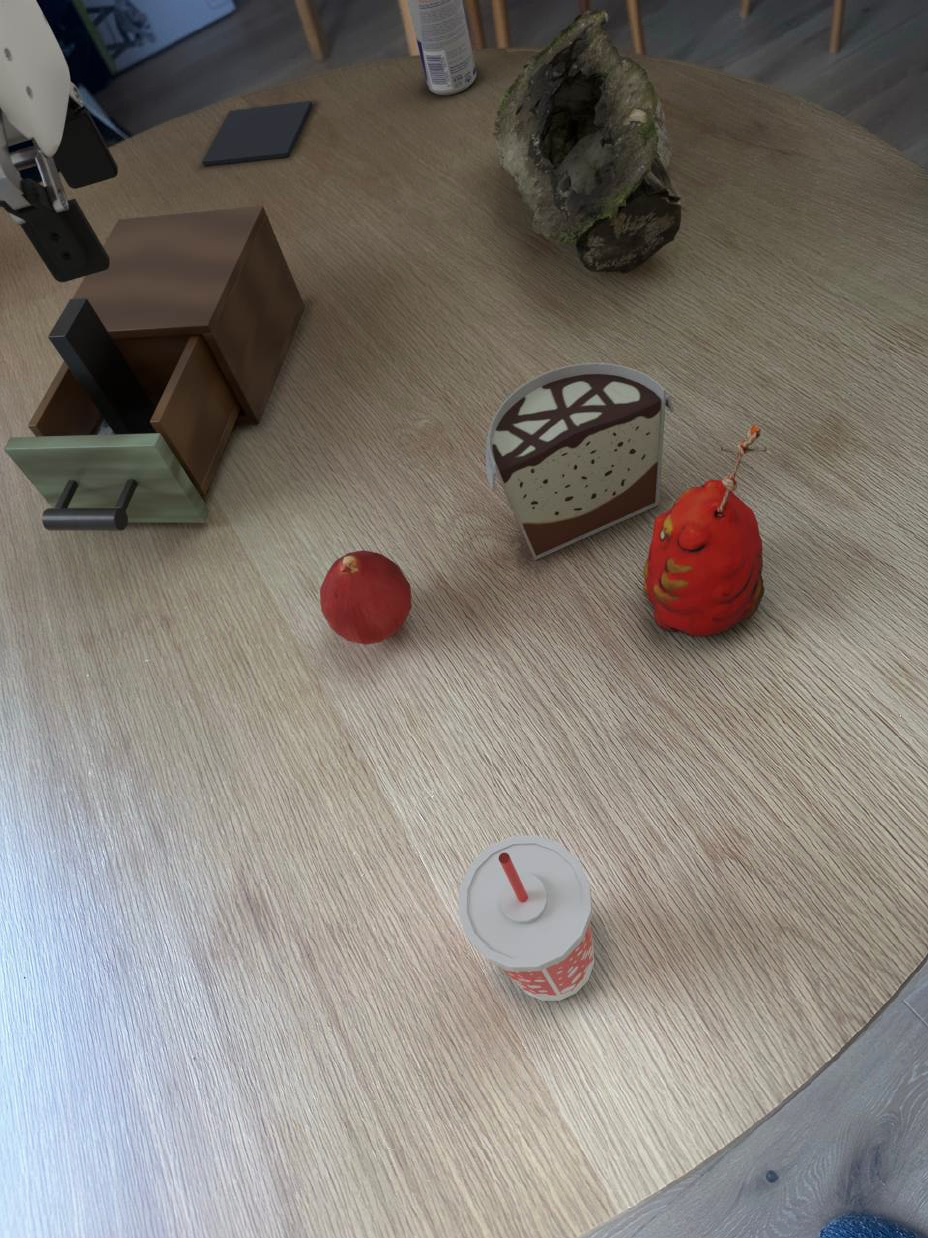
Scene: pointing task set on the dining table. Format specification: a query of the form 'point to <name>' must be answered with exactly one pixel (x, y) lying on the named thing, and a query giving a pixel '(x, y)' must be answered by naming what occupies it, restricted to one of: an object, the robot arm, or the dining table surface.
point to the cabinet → (204, 292)
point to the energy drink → (443, 44)
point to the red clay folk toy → (706, 557)
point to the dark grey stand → (102, 371)
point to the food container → (578, 451)
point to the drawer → (132, 442)
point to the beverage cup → (531, 915)
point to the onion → (365, 597)
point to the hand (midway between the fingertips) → (90, 224)
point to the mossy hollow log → (590, 149)
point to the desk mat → (258, 133)
